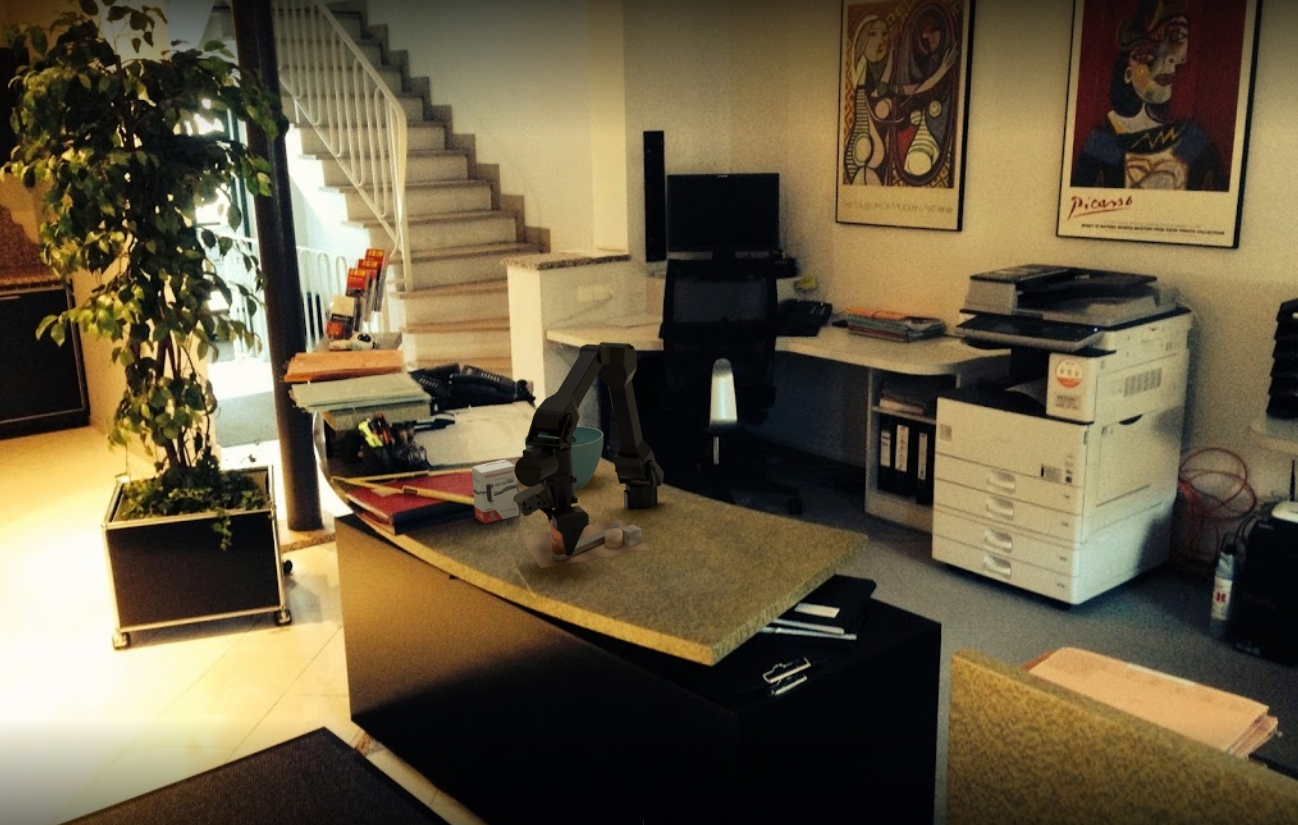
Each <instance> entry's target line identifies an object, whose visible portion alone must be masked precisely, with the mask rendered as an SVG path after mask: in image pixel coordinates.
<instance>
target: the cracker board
mask: <svg viewBox="0 0 1298 825" xmlns="http://www.w3.org/2000/svg"><path fill="white" fill-rule="evenodd" d="M612 528H617V529H621V530H622V533H623V547H621V548H618V549H608V548H606V547H605V542H603V543H601V544H599V545H596V546H594V547H592V548H590V549H587V550H585V551H583V552H580V553H578V554H576V555H573V556H571V557H569V558H567V559H564V560H562V561H558V560H555V559H552V557H551V552H552V543H551V531H545V532H539V533H533V534H528V535H522V536H519V538H520V540H521V542H522V543H523V545H524V546H525V547H526V549H527V551H528V552H529V553H530V554H531V556H532V557H533V559H534V560H535V562H536V563H537V565H538V566H539V567H540V569H544V568H545V569H547V568H551V567H556V566H563V565H568V564H569V565H570V564H574V563H579V562H585V561H592V560H597V559H603V558H608V557H614V556H615V557H616V556H620V555H625V554H632V553H637V552H638V553H639V552H644V551H648V550H651V547H649V546H648V545H647V544H646V543H645V542H644V541H643V535H642V528H641V527H638V526H636V525H634V524H630V525H627V524H626V523H625V522H624V520H622V519H619V520H612V521H608V522H607V521H606V522H601V523H596V524H589V525H588V526H586V527H585V528H584V530H583V532H582V534H581V536H580V538H579V540H578V541H580V540H582V539H584V538H587V537H589V536H591V535H594V534H596V533H599V532H601V531H603V530H608V529H612Z"/></svg>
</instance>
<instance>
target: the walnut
mask: <svg viewBox="0 0 1298 825" xmlns="http://www.w3.org/2000/svg"><path fill="white" fill-rule="evenodd" d="M605 547H606V548H608V549H618V548H621V547H623V533H622V530H621V529H617V528H612V529H608V530H606V531H605Z"/></svg>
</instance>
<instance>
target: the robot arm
mask: <svg viewBox="0 0 1298 825" xmlns="http://www.w3.org/2000/svg"><path fill="white" fill-rule="evenodd" d="M578 353H579V354H578V357H577V358H576V359H575V362H574V363H573V365H572V366H571V368H570V369H569V371H568V372H567V374H566V377H565V378H564V380H563V381H562V383H561V385H560V387H559V388H558V390H557V391H556V392H555V393H554V394H552V395H550V396H548V397H546V398H544V400H543V401H542V402H541V403H540V404H539V406H538V407H537V408H536V409H535V412H534V413H533V417H532V419H531V422H530V426H529V430H528V432H527V435H528V436H527V435H526V436H527V439H526V443H525V442H524V444H526V445H528V446H532V447H531V448H527V449H526V448H525V449H523V450H522V456H521V457H519V458H518V460H516V463H515V464H514V465H515V468H514V471H515V475H516V479H517V482H519V484H521V485H522V486H524V487H527V488H525V489H524V490H523V489H522V490H521V491H519V492H518V493H517V494H516V495H515V496H514V499H515V501H516V503H517V505H518V507H519V512H521V513H522V516H524V517H528V516H531V515H532V514H533V513H535V512H537V511H538V510H539V511H541V512H542V513H543V514H545V515H546V519H547V522H548V525H549V526H550V519H551V518H552V521H553V527H554V528H555V529H556V530H557V531H559V532H560V533H561V537H562V541H563V545H564V549H565V553H566V556H567V557H568V556H572V555H573V552H574V550H575V548H576V545H577V543H578V540H579V538H580V536H581V534H582V532H583V530H584V528H585V527H586V526H588V525H590V515H589V513H588V512H587V511H586V510H585V509H584V508H583V507H581V505H574V504H578V503H579V498H578V497H577V495H576V493H575V491H576V490H575V491H574V483H576V482H577V479H576V476H575V475H574V474H573V459H572V444H573V443H575V442H576V441H577V439H576V438H575V437H574V436H572V435H573V433H574V431H575V429H576V426H578V423H579V421H580V419H581V418H580V412H579V408H580V405H581V403H582V401H583V400H584V398H585V397H586V395H587V393H588V391H589V390H590V388H591V387H592V384H593V383H594V381H595V379H596V378H597V377H598V376H599V377H600V379H602V381H603V382H604V383H605V384H606V385H607V387H608V392H609V395H610V400H611V401H610V402H611V406H612V412H613V417H614V420H615V421H614V422H615V427H616V431H617V436H618V441H619V442H618V443H619V446H618V450H617V451H616V454H615V455H614V456H613V458H612V459H613V460H612V461H613V465H614V473H616V476H617V480H618V483H619V485H625V489H624V490H623V507H624V508H625V509H627V510H642V511H643V510H650V509H651V508H654V507H656V506H658V505H659V502H658V501H659V500H658V487H661V486H663V484H662V483H663V482H664V475H665V474H664V473H665V472H664V471H663V469H662V468H661V466H660V465H659V463H657V461H656V458H655V455H654V452H653V449H652V448H651V447H650V446H649V445H648V444H647V443H646V441H644V438H643V434H642V429H641V423H640V419H639V413H638V408H637V403H636V396H635V391H634V385H633V378H634V375H635V373H636V371H637V368H638V363H637V359H638V355H637V354H638V353H637V351H636V349H635V346H634V345H632V344H631V343H629V342H628V343H627V342H626V343H625V342H609V341H601V342H599V343H598V344H596V343H595V344H592V343H586V344H583V345H582V346H580V349H579V352H578ZM539 434H540V435H543V436H553V437H555V438H546V437H538V435H539ZM573 505H574V506H573Z"/></svg>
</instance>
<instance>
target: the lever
mask: <svg viewBox="0 0 1298 825" xmlns="http://www.w3.org/2000/svg"><path fill="white" fill-rule="evenodd" d="M549 528H550V532H551V543H552V552H551V557H552V559H555V560H558V561H562V560H564V559H567V558H569V557H571V556H568V557H567V556H566V553H565V549H564V545H563V541H562V537H561V533H560V532H559V531H557V530H556V529H555V528H554V527H553V521H552V518H551V519H550V525H549ZM605 531H606V530H603V531H601V532H599V533H596V534H594V535H591V536H589V537H587V538H584V539H582V540H580V541H578V543H577V545H576V548H575V550H574V552H573V555H576V554H578V553H580V552H583V551H585V550H587V549H590V548H592V547H594V546H596V545H599V544H601V543H603V542H605ZM573 555H572V556H573Z"/></svg>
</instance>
